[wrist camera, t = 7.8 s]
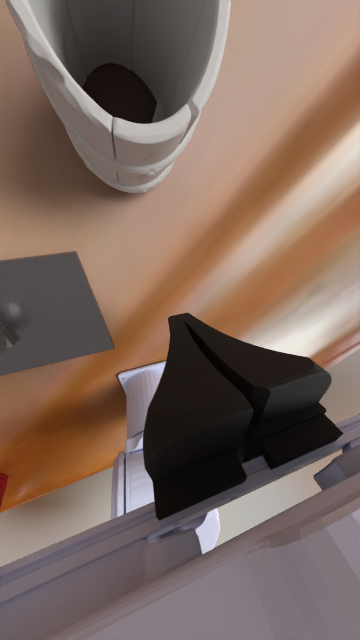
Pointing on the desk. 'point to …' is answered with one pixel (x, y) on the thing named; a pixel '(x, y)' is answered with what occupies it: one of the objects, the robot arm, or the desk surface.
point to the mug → (134, 54)
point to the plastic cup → (2, 486)
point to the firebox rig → (48, 312)
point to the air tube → (2, 343)
